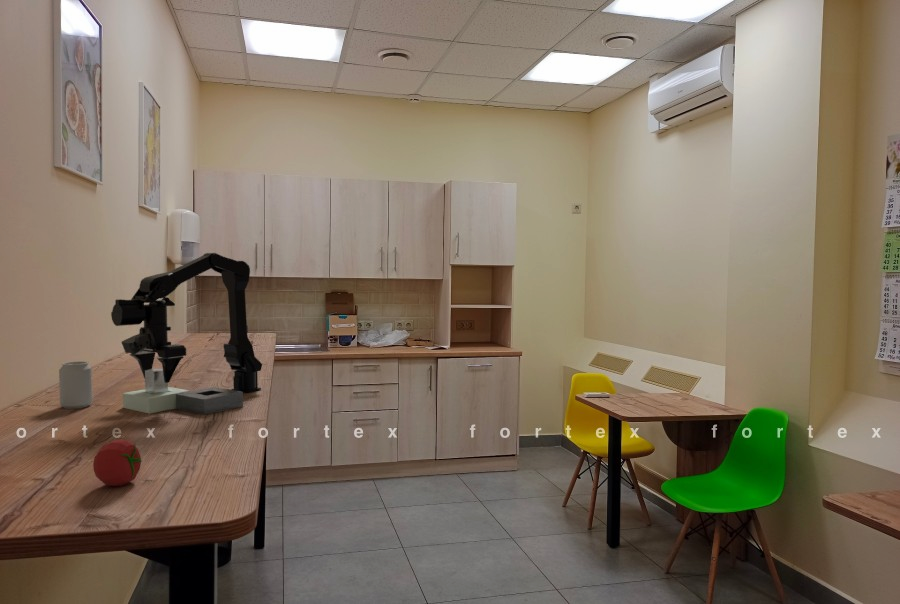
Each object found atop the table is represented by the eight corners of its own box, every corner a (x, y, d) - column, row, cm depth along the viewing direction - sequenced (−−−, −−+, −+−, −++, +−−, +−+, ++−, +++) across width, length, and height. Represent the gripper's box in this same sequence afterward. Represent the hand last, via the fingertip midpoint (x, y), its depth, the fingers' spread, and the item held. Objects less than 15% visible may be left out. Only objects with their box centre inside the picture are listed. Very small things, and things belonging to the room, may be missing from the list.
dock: (164, 399, 176) (164, 386, 176) (190, 405, 170) (190, 390, 170) (123, 407, 166) (122, 393, 166) (149, 413, 160) (148, 398, 159)
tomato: (90, 436, 107) (133, 428, 107) (116, 452, 113) (156, 445, 113) (79, 481, 102) (124, 473, 102) (107, 495, 109) (149, 488, 108)
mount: (214, 401, 175) (214, 387, 175) (242, 406, 169) (242, 391, 168) (176, 409, 165) (175, 394, 165) (204, 414, 159) (204, 399, 158)
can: (98, 403, 171) (97, 360, 170) (79, 410, 163) (78, 364, 163) (73, 403, 172) (72, 360, 171) (53, 409, 164) (52, 364, 164)
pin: (159, 404, 171) (158, 368, 170) (168, 406, 169) (167, 369, 168) (145, 407, 167) (144, 370, 167) (154, 408, 165) (153, 371, 165)
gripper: (106, 323, 165) (108, 381, 166) (147, 327, 155) (148, 389, 156) (146, 320, 174) (147, 375, 175) (187, 324, 164) (188, 382, 165)
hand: (156, 380), depth 168 cm, fingers open, 9 cm apart
